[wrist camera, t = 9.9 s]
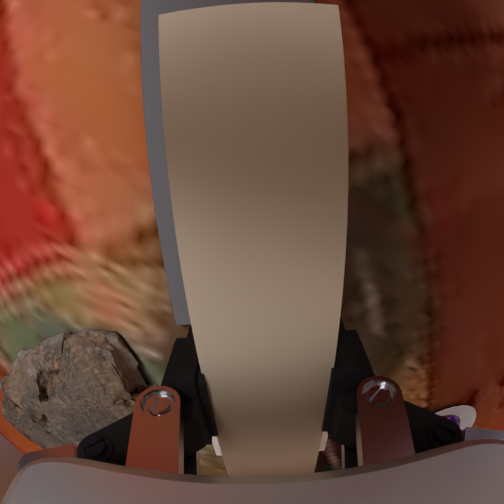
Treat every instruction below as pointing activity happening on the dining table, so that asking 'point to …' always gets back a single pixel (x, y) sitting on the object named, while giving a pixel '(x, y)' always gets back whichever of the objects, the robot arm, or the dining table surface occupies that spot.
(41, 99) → the dining table surface
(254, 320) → the mottled beige bar
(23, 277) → the dining table surface
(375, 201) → the dining table surface
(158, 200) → the mat
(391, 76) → the dining table surface
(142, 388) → the grey rock
